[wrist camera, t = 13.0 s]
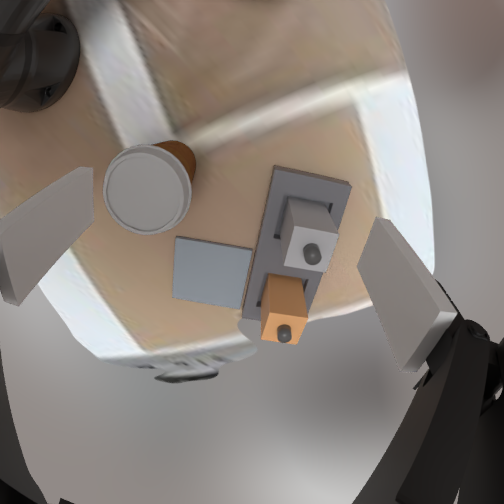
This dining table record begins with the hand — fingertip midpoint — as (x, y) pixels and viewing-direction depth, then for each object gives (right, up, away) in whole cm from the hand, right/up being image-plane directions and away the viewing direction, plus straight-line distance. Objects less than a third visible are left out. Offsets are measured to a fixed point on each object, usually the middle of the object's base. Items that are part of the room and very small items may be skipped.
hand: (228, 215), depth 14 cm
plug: (+5, -7, +34) cm, 35 cm away
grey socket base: (+7, -2, +32) cm, 32 cm away
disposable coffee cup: (-9, +10, +26) cm, 29 cm away
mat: (-5, -5, +34) cm, 35 cm away
